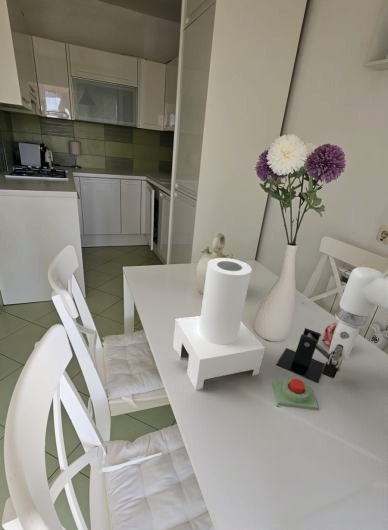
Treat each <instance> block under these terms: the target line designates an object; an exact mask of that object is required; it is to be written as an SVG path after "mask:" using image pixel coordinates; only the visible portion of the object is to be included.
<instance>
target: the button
mask: <svg viewBox="0 0 388 530" xmlns="http://www.w3.org/2000/svg"><path fill="white" fill-rule="evenodd" d="M291 379H292V380H291V382H290V385H289V389H290V390H291V391H292V392H294V393H296V394H301V393H303V391H304V388H305V384H306V383H304V381H302V380H301V379H298V378H291Z"/></svg>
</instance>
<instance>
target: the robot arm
mask: <svg viewBox="0 0 388 530" xmlns="http://www.w3.org/2000/svg"><path fill="white" fill-rule="evenodd" d="M375 306H376V307H379V308H380V309H383V310H385V311H387V312H388V275H386V276H385V274H384V273H383V272H382V271H380V270H377V269H375V268H371V267H368V266H358V267H355V268H353V269H352V270H351V272H350V275H349V277H348V280H347V283H346V285H345V288H344V290H343V293H342V296H341V298H340V301H339V304H338V306H337V309H336V312H335V314H334V317H335V319H336V320H337V322H336V323H337V326H336V328H335V331H334V334H333V337H332V341H331V345H330V347H329V349H328V353H329V354H330V357H329V360H328V359H327V361H325V362H326V363H325V365H324V368H323V371H322V373H321V375H324V376H326V377H328V378H330V379H335V378H336V376H337V373H338V372H337V371H338V368H339V364H340V361H341V359H342V361H345V362H347V361H348V360H349V358H350V354H351V352H352V349H353V347H354V345H355V342H356V340H357V337H358V335H359V332H360V331H361V330H360V329H361V328H365V327H366V326H367V324H368V322H369V320H370V317H371V315H372V313H373V310H374V308H375ZM332 357H333V359H331V358H332ZM338 359H339V360H338ZM337 361H338V362H337Z"/></svg>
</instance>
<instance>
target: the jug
mask: <svg viewBox="0 0 388 530" xmlns="http://www.w3.org/2000/svg"><path fill="white" fill-rule="evenodd" d="M225 245H226V236H225V235H224V234H223V233H222V232H218V233H216V234H215V235H214V238H213V241H212V251H213V252H210V246H205V247H204V248H201V249H200V250H199V252H200V253H202V254H203V255H202V257H201V258H200V259H199V261H198V262H197V266H196V282H197V283H196V284H197V289H198V292H199V293H201V294H202V295H203V294H204V287H205V279H206V272H207V264H208V262H209V261H210V260H211V259H215V258H230V259H234V254H233V253H230V254H224V253H223V251H224V248H225V247H226V246H225Z"/></svg>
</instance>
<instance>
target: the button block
mask: <svg viewBox="0 0 388 530" xmlns="http://www.w3.org/2000/svg"><path fill="white" fill-rule="evenodd" d="M292 379H293V378H288V379H285V380H278V379H272V381H271V383H272V389H273V392H274V396H275V401H276V405H275V407H276V408H280V406H283V407H291V408H300V409H307V410H309V409H310V410H313V411H318V409H319V406H318V403H317V400H316V398H315V394H314V392H313V390H312V387H311V384H310V383H304V384H305V388H304V391H303V393H301V394H296V393H294V392H292V391H291V390H290V389H289V385H290V382H291V380H292Z"/></svg>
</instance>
